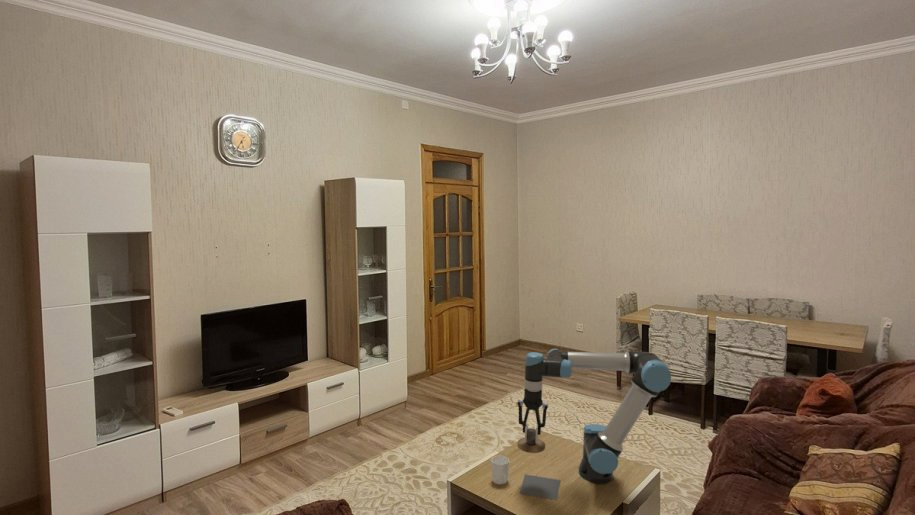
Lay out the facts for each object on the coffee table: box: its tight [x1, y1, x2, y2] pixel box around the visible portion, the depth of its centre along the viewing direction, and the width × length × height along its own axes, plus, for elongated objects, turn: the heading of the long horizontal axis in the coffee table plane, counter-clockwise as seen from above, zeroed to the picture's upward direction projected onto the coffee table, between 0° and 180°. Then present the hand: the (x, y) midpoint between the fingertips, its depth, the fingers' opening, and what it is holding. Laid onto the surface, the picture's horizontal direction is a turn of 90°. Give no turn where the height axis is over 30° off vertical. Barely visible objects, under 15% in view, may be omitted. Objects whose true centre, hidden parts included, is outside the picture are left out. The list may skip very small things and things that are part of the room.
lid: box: [516, 427, 546, 454], centre depth 215 cm, size 12×12×7 cm
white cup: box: [490, 455, 510, 485], centre depth 220 cm, size 8×8×10 cm
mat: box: [518, 474, 561, 501], centre depth 216 cm, size 16×16×1 cm
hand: (531, 440), depth 215 cm, fingers closed on lid, 4 cm apart
